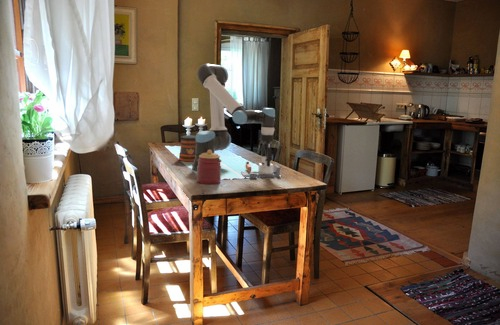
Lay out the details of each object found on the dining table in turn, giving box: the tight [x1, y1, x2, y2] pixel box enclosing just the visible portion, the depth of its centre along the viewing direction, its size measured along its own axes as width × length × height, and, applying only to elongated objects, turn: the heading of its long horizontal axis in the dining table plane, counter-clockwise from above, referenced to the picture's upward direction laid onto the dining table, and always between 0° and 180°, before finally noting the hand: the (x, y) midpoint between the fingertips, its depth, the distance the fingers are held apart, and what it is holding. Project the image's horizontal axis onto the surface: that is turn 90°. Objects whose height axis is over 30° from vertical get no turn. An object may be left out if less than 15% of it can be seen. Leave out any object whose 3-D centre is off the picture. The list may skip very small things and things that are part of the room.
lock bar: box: [245, 161, 252, 172], centre depth 240 cm, size 2×12×4 cm, turn 9°
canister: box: [196, 150, 222, 185], centre depth 208 cm, size 13×13×18 cm
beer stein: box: [178, 134, 196, 163], centre depth 267 cm, size 19×15×20 cm
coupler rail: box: [240, 164, 281, 180], centre depth 230 cm, size 22×16×6 cm
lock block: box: [257, 162, 274, 175], centre depth 233 cm, size 8×6×7 cm
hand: (265, 169), depth 233 cm, fingers open, 13 cm apart
